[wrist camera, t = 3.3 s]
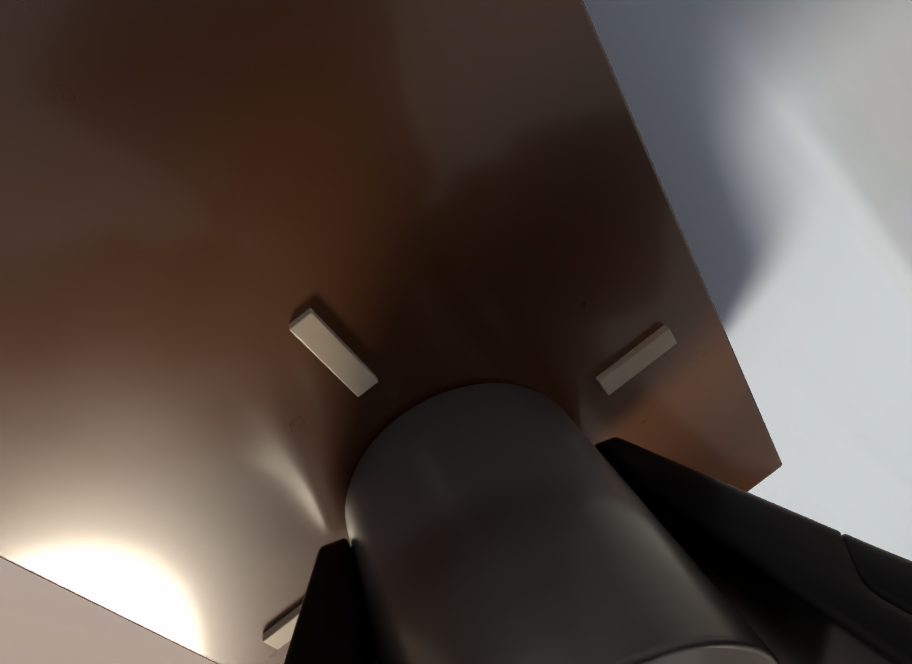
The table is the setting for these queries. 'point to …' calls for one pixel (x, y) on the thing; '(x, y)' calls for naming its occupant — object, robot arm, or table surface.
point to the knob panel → (314, 280)
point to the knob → (522, 546)
